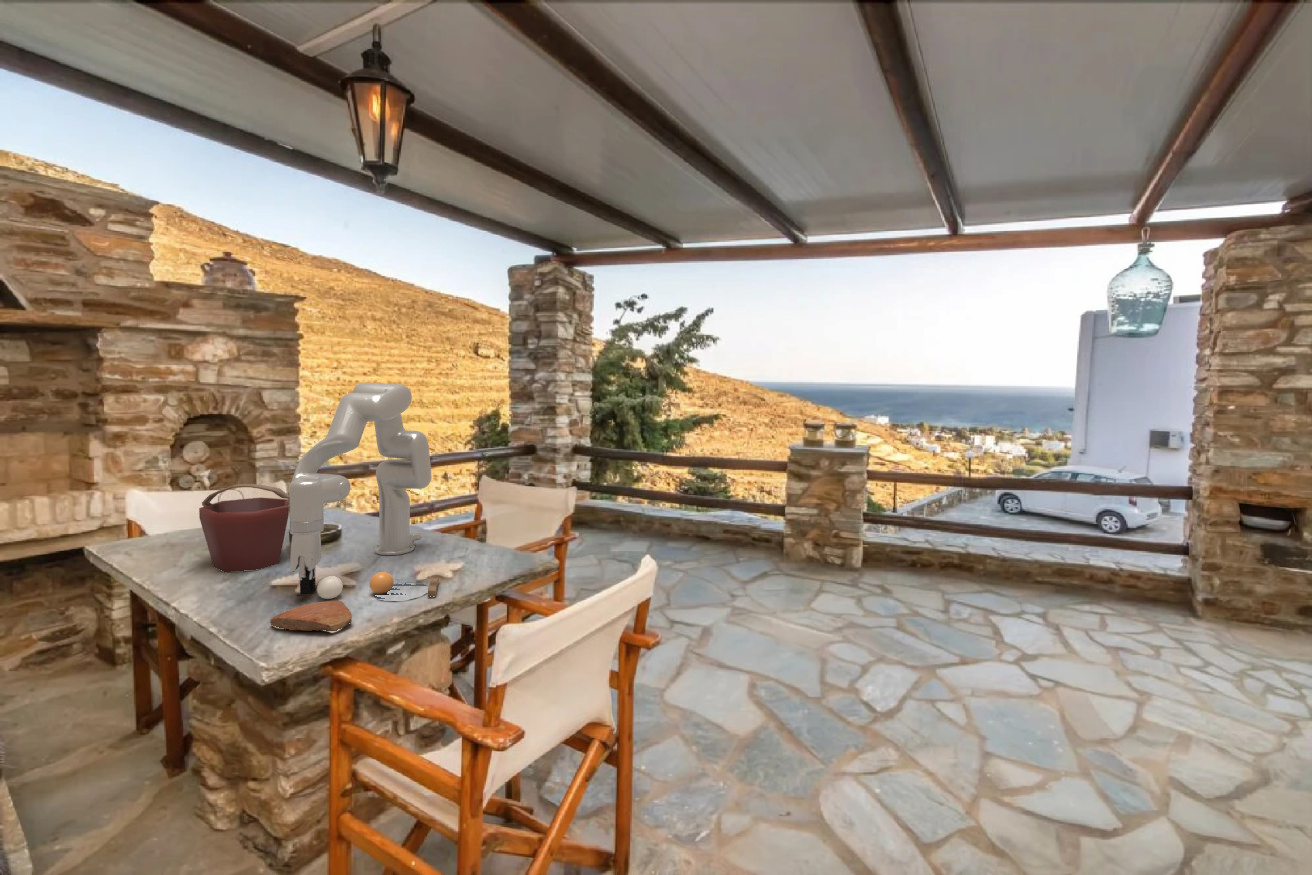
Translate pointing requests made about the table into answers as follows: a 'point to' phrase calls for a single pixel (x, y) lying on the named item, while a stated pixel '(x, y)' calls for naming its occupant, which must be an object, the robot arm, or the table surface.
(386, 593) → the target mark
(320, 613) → the ceramic shard
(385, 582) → the object ball
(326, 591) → the cue ball
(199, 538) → the table surface
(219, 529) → the bucket
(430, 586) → the stopper rail
